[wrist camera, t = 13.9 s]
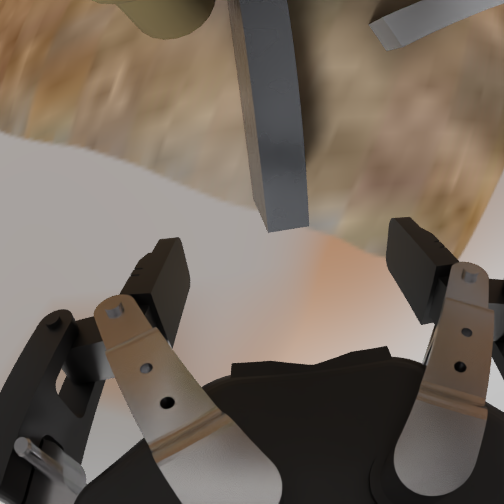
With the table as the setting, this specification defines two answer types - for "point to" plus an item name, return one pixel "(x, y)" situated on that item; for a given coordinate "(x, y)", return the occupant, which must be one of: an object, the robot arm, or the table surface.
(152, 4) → the cork
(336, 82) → the table surface
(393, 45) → the plain stick
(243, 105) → the steel crook
